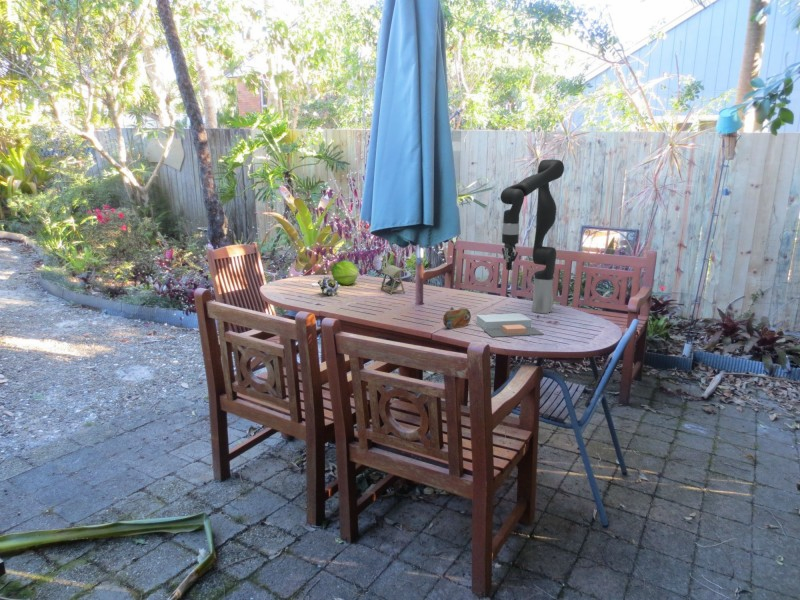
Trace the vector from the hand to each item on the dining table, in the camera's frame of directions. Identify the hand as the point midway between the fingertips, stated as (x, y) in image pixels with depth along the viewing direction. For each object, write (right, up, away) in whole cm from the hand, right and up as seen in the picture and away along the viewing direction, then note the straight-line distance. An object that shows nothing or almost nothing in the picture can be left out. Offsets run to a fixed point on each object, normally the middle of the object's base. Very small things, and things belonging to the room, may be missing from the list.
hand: (508, 269), depth 253 cm
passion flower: (-92, -11, +54) cm, 107 cm away
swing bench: (-55, -10, +64) cm, 85 cm away
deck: (-3, -26, -3) cm, 27 cm away
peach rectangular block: (-1, -26, -15) cm, 30 cm away
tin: (-25, -27, -6) cm, 37 cm away
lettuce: (-85, -4, +84) cm, 119 cm away
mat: (-1, -29, -14) cm, 32 cm away
